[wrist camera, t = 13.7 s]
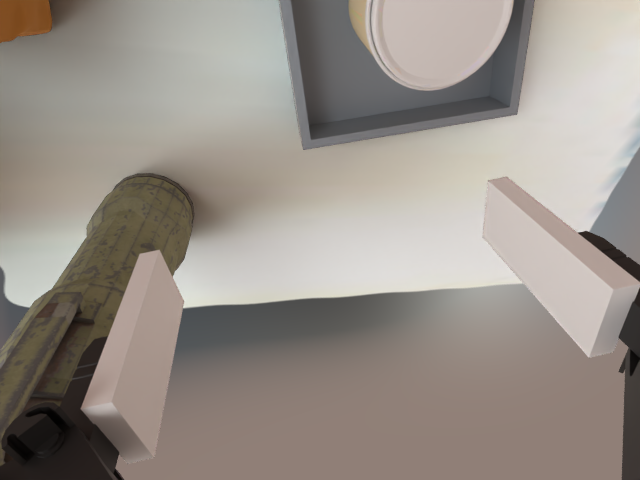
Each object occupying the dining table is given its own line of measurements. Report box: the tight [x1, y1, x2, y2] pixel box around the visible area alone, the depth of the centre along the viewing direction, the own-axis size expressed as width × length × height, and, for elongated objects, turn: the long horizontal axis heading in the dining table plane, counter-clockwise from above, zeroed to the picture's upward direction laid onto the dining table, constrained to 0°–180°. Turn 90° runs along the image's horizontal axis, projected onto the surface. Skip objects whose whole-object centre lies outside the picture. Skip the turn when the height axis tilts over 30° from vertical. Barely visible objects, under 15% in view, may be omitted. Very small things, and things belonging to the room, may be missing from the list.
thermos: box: [0, 174, 194, 466], centre depth 29 cm, size 9×12×35 cm
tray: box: [278, 0, 535, 150], centre depth 33 cm, size 20×20×5 cm
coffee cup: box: [348, 0, 514, 91], centre depth 29 cm, size 9×9×12 cm
